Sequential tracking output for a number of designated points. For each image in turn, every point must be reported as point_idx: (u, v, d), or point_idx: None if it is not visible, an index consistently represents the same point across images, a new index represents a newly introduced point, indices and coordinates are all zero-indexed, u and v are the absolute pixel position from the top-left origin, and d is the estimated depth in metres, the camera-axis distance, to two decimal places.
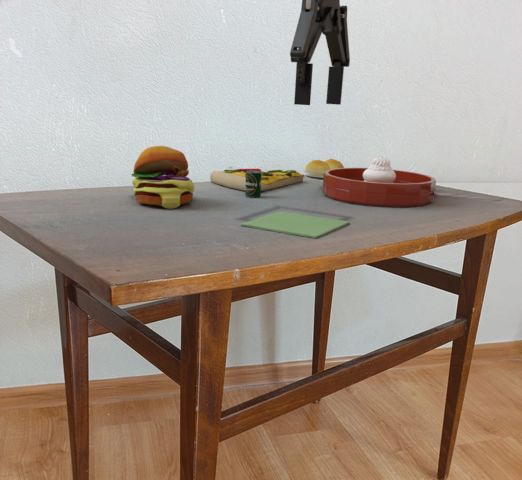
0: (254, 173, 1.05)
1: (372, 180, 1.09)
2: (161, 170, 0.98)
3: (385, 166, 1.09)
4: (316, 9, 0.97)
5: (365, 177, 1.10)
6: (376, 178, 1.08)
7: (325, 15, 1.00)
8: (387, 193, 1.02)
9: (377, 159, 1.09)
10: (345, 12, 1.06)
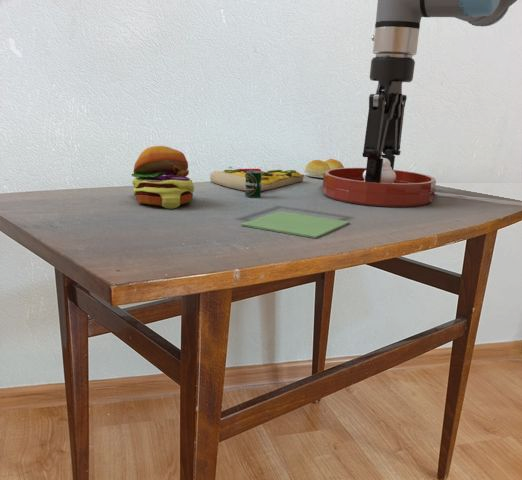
0: (254, 173, 1.05)
1: None
2: (161, 170, 0.98)
3: (385, 166, 1.09)
4: (383, 106, 1.01)
5: None
6: None
7: (390, 105, 1.03)
8: (387, 193, 1.02)
9: None
10: (404, 100, 1.10)
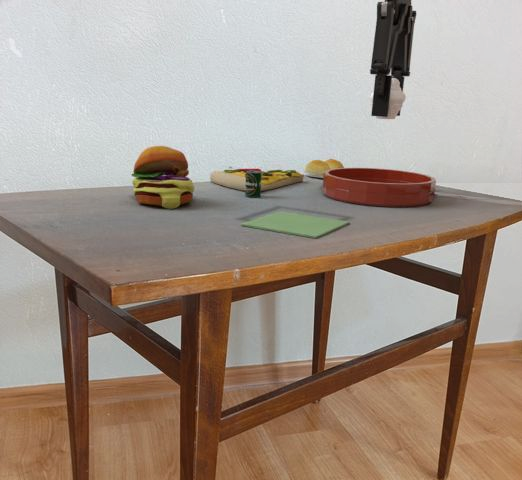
0: (254, 173, 1.05)
1: None
2: (161, 170, 0.98)
3: (394, 86, 1.02)
4: (392, 14, 0.95)
5: None
6: None
7: (400, 16, 0.97)
8: (387, 193, 1.02)
9: None
10: (414, 16, 1.03)
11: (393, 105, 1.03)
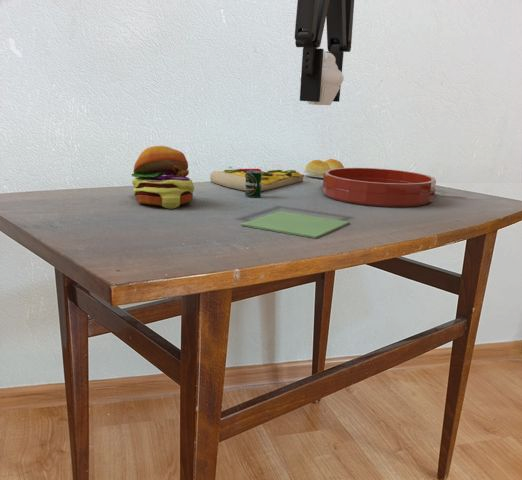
0: (254, 173, 1.05)
1: None
2: (161, 170, 0.98)
3: (328, 62, 0.81)
4: None
5: None
6: None
7: None
8: (387, 193, 1.02)
9: None
10: None
11: (327, 87, 0.81)
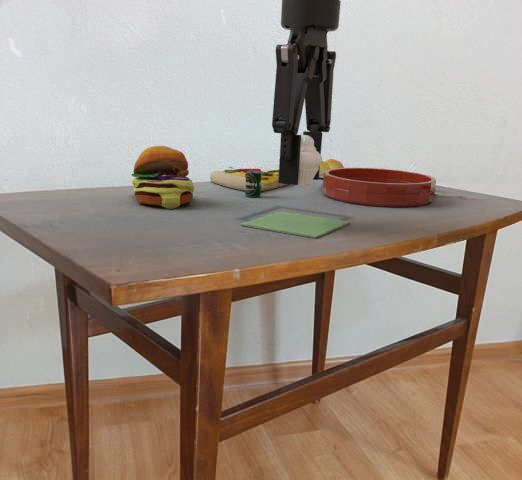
0: (254, 173, 1.05)
1: None
2: (161, 170, 0.98)
3: (306, 146, 0.81)
4: (296, 61, 0.74)
5: None
6: None
7: (308, 61, 0.76)
8: (387, 193, 1.02)
9: None
10: (333, 59, 0.82)
11: (305, 170, 0.82)
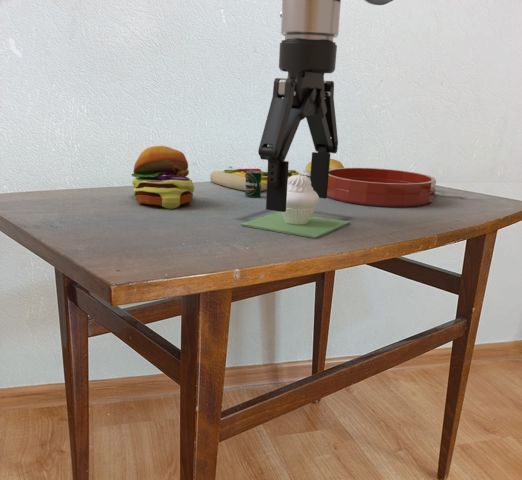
0: (254, 173, 1.05)
1: (287, 205, 0.84)
2: (161, 170, 0.98)
3: (304, 187, 0.84)
4: (292, 95, 0.75)
5: None
6: (291, 202, 0.83)
7: (304, 99, 0.78)
8: (387, 193, 1.02)
9: (293, 177, 0.84)
10: (331, 89, 0.84)
11: (303, 210, 0.84)
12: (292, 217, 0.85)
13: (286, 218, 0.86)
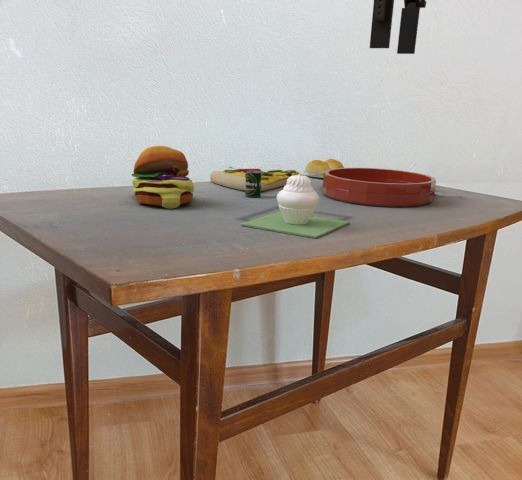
0: (254, 173, 1.05)
1: (287, 205, 0.84)
2: (161, 170, 0.98)
3: (304, 187, 0.84)
4: None
5: (279, 201, 0.85)
6: (291, 202, 0.83)
7: None
8: (387, 193, 1.02)
9: (293, 177, 0.84)
10: None
11: (303, 210, 0.84)
12: (292, 217, 0.85)
13: (286, 218, 0.86)
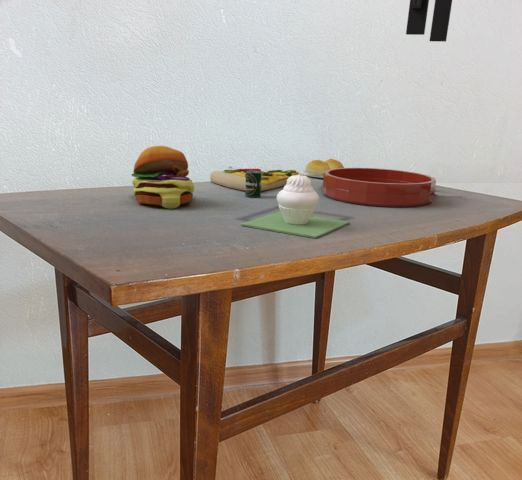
0: (254, 173, 1.05)
1: (287, 205, 0.84)
2: (161, 170, 0.98)
3: (304, 187, 0.84)
4: None
5: (279, 201, 0.85)
6: (291, 202, 0.83)
7: None
8: (387, 193, 1.02)
9: (293, 177, 0.84)
10: None
11: (303, 210, 0.84)
12: (292, 217, 0.85)
13: (286, 218, 0.86)
